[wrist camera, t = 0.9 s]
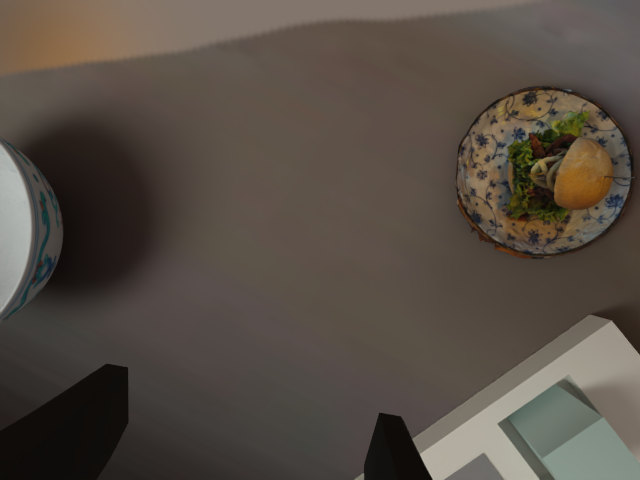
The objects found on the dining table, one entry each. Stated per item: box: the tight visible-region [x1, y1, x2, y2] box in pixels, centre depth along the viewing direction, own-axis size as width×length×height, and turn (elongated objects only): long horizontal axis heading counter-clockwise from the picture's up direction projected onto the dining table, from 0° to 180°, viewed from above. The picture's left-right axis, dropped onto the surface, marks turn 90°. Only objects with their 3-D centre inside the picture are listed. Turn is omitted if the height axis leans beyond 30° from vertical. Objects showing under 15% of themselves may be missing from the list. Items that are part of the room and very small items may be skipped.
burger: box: [455, 86, 637, 259], centre depth 25 cm, size 12×12×8 cm
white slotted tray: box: [354, 315, 640, 480], centre depth 27 cm, size 8×22×3 cm, turn 127°
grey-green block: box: [507, 384, 640, 480], centre depth 25 cm, size 4×4×6 cm
